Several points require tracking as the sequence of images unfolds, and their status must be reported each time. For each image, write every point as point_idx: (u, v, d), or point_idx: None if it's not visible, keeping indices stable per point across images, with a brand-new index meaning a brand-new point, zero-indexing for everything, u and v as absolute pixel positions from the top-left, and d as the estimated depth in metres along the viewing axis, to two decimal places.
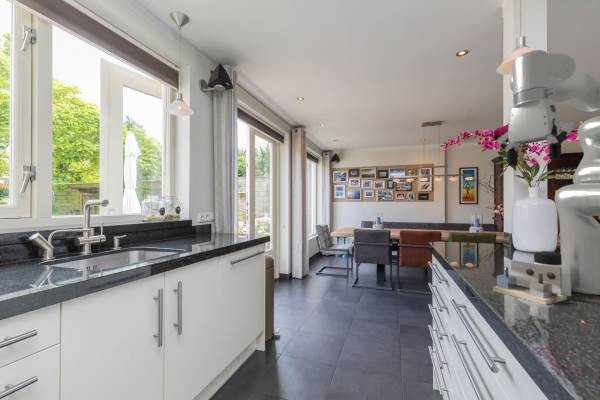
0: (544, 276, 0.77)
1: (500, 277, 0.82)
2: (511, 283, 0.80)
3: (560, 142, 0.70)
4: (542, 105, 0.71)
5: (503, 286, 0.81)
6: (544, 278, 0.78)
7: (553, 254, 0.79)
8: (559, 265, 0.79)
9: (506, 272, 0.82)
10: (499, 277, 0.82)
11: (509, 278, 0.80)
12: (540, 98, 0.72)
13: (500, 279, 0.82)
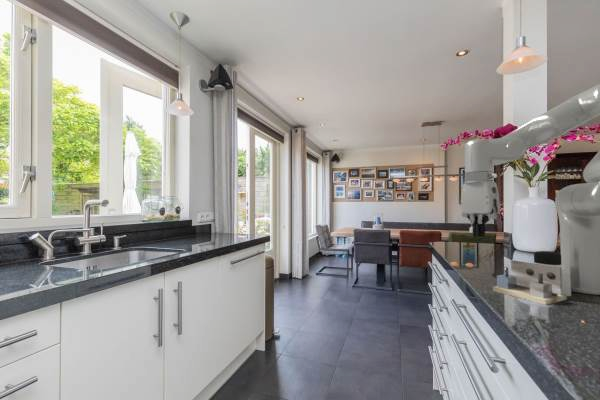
0: (544, 276, 0.77)
1: (500, 277, 0.82)
2: (511, 283, 0.80)
3: None
4: (486, 186, 0.85)
5: (503, 286, 0.81)
6: (544, 278, 0.78)
7: (553, 254, 0.79)
8: (559, 265, 0.79)
9: (506, 272, 0.82)
10: (499, 277, 0.82)
11: (509, 278, 0.80)
12: (484, 180, 0.85)
13: (500, 279, 0.82)
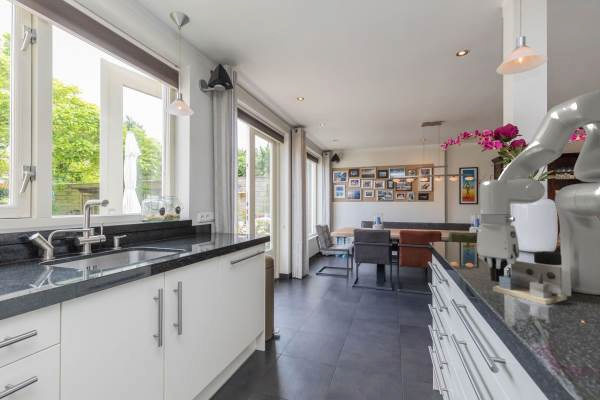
0: (544, 276, 0.77)
1: (502, 278, 0.81)
2: (514, 284, 0.80)
3: None
4: (504, 231, 0.81)
5: (506, 287, 0.80)
6: (544, 278, 0.78)
7: (553, 254, 0.79)
8: (559, 265, 0.79)
9: (509, 273, 0.81)
10: (501, 278, 0.81)
11: (512, 278, 0.80)
12: (502, 224, 0.81)
13: (503, 280, 0.81)
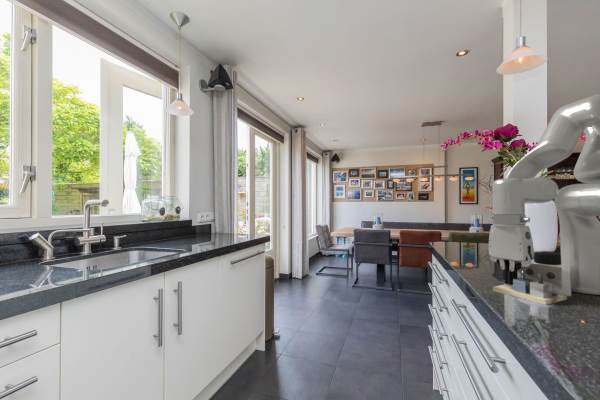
0: (544, 276, 0.77)
1: (517, 281, 0.78)
2: (529, 287, 0.76)
3: None
4: (518, 232, 0.77)
5: (520, 290, 0.77)
6: (544, 278, 0.78)
7: (553, 254, 0.79)
8: (559, 265, 0.79)
9: (523, 275, 0.78)
10: (515, 281, 0.78)
11: (527, 281, 0.76)
12: (516, 225, 0.78)
13: (517, 283, 0.77)
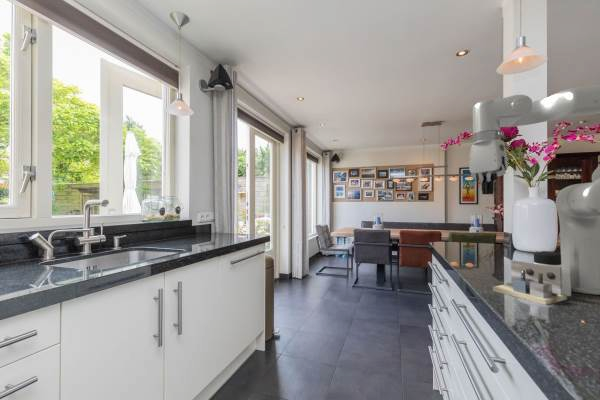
0: (544, 276, 0.77)
1: (517, 281, 0.78)
2: (529, 287, 0.76)
3: None
4: (494, 145, 0.88)
5: (520, 290, 0.77)
6: (544, 278, 0.78)
7: (553, 254, 0.79)
8: (559, 265, 0.79)
9: (523, 275, 0.78)
10: (515, 281, 0.78)
11: (527, 281, 0.76)
12: (492, 139, 0.89)
13: (517, 283, 0.77)
